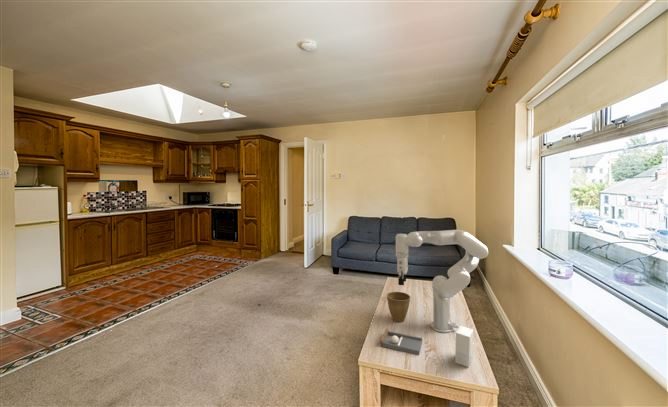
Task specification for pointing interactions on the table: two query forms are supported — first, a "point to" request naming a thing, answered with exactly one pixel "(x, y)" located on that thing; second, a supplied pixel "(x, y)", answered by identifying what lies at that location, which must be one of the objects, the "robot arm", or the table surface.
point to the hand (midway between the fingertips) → (402, 282)
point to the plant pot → (398, 305)
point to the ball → (394, 339)
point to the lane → (402, 342)
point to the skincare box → (464, 346)
